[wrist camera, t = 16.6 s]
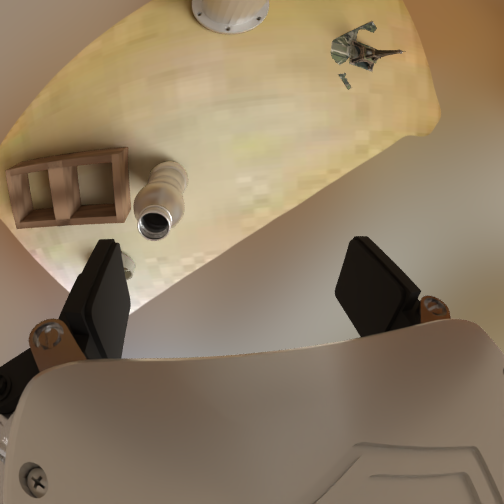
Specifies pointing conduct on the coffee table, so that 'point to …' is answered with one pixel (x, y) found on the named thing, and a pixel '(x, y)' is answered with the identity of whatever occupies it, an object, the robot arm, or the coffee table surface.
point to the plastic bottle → (161, 200)
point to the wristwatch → (128, 266)
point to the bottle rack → (69, 190)
